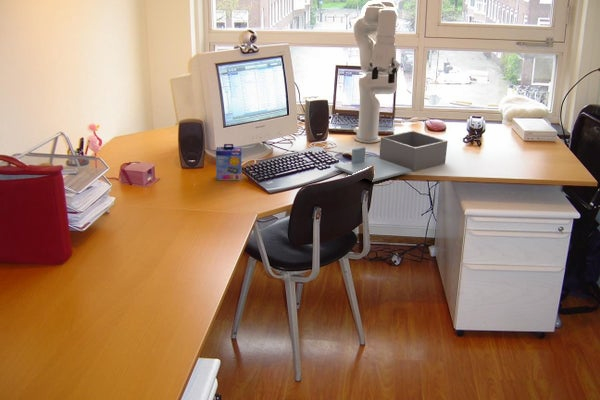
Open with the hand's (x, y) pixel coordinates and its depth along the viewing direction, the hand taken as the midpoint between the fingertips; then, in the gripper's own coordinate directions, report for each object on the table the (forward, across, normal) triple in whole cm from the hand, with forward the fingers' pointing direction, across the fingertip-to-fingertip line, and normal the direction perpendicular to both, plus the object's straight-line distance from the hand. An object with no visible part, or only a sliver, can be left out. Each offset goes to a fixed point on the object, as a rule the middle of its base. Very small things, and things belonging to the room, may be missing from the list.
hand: (382, 81), depth 282 cm
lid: (+33, +15, -18) cm, 41 cm away
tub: (+33, +14, +7) cm, 37 cm away
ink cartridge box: (+34, -12, -70) cm, 79 cm away
